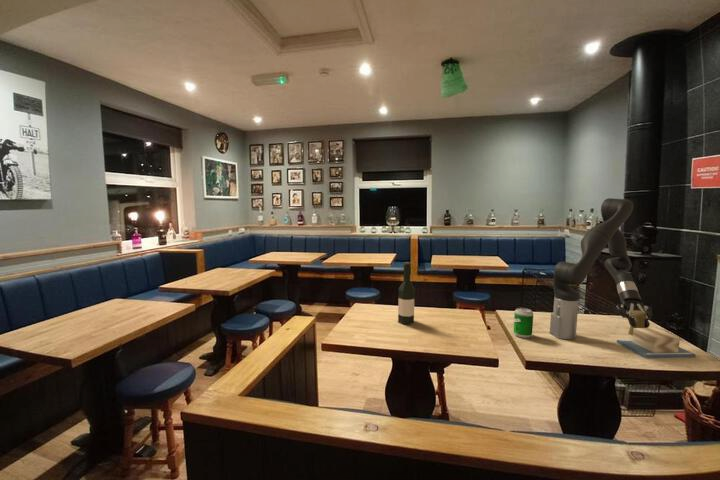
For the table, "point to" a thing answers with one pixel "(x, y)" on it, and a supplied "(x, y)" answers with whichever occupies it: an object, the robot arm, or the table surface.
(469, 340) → the table surface
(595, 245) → the robot arm
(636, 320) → the cork
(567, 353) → the table surface
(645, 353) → the board
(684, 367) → the table surface
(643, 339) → the maple pedestal
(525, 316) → the soda can
